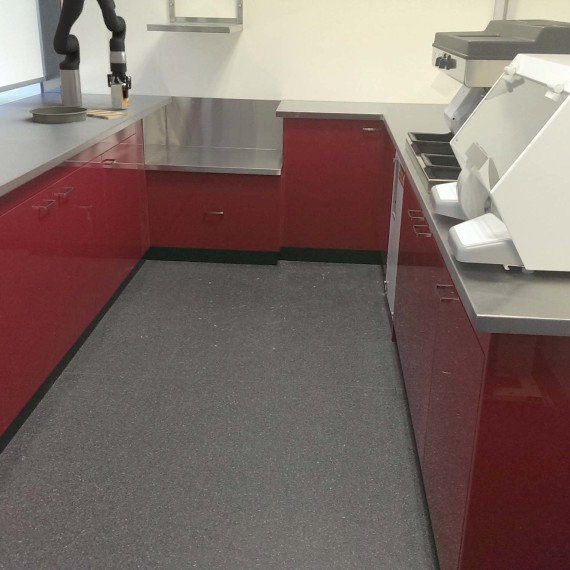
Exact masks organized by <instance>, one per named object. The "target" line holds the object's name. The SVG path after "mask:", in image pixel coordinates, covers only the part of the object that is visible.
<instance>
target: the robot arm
mask: <svg viewBox="0 0 570 570" xmlns="http://www.w3.org/2000/svg"><path fill="white" fill-rule="evenodd" d="M96 2H97V4H98V6H99V9H100V11H101V15H102V18H103V23H104V25H105V27H106V28H107V30H108V31H109V32H111V38H109V41H108V42H109V44H108V45H109V66H110V67H109V68H110V69H109V70H110V72H111V73H107V75H106V79H107V87H108V88H110V89H111V85H115V84H120V85H122V86H123V90H124V91H123V98H124V99H127V98H128V92H129V90H131V89H132V77H131V75H127V74H126V73H127V71H128V70H127V55H126V45H125V42H126V41H125V40H126V36H127V35H126V34H127V24H126V20H125V18H124V17H123V16H121V15H117V13H116V10H115V9H116V8H117V7H116V3H115V0H96ZM84 6H85V0H62V3H61V10H60V14H59V20H58V23H57V27H56V30H55V34H54V37H53V40H52V41H53V43H52V44H53V45H52V46H53V50H54V51H55V53H56V54H57V55H60V56H64V55H65V58H64V59H63V61H61V62H60V63H59V65H58V67H59V68H58V69H59V77H60V85H59V89H60V99H61V106H76V107H83V96H82V85H81V75H80V63H81V52H80V51H81V49H80V47H81V46H80V42H79V39H78V37H77V36H76V35H75V34H73V33H71V29H72V27H73V26H74V24H75V23H76V22H77V20H78V19H79V17H81V14H82V13H83V9H84ZM70 33H71V34H70Z"/></svg>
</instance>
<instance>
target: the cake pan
mask: <svg viewBox="0 0 570 570" xmlns="http://www.w3.org/2000/svg"><path fill="white" fill-rule="evenodd" d="M28 111H29V113H30V114H32V116H33V119H34V121H35V122H36V121H37V123H42V124H73V123H72V122H75V123H80V121H81V122H84V121H86V120H87V116H86V114H87V112H88V111H90V109H89V108H87V107H84V106H63V105H53V106H40V107H36V108H32V109H30V110H28Z"/></svg>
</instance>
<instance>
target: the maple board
mask: <svg viewBox="0 0 570 570" xmlns="http://www.w3.org/2000/svg"><path fill="white" fill-rule="evenodd" d="M131 116H132V115H131V113H126V112H120V111H119V112H118V111H113V110H105V109H96V110H89V111H88V112H87V114H86V117H91V118H92V117H93V118H98V119H103V120H104V119H105V120H114V119H120V118H121V119H122V118H127V117H131Z"/></svg>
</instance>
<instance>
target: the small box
mask: <svg viewBox="0 0 570 570" xmlns="http://www.w3.org/2000/svg"><path fill="white" fill-rule="evenodd" d="M123 91H124V90H123V86H122V85H120V84H115V85H111V88H110V95H111V99H110V100H111V108H115V109H124V108H129V107H130V97H129V96H130V95H129V93H130V92H129V91H128V98H127V99H124V98H123Z"/></svg>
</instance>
